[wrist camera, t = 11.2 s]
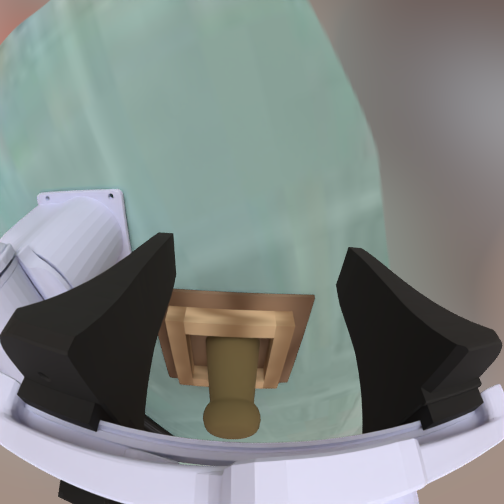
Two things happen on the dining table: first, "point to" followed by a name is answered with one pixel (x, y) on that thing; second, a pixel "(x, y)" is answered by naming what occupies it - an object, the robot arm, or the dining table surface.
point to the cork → (232, 387)
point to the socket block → (233, 331)
